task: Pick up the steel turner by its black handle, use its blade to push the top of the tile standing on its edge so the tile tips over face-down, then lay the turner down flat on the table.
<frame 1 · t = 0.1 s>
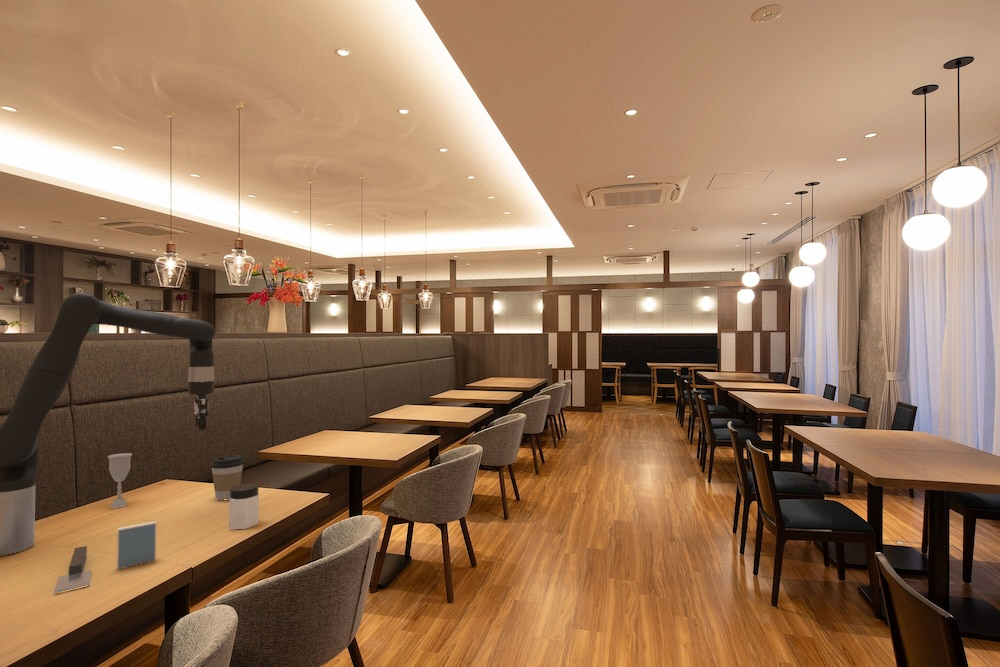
hand: (200, 427, 161), 29 cm above the table, tool pointing down, fingers open, 8 cm apart
jar: (243, 525, 151), on the table
coffee cup: (227, 498, 178), on the table
tile: (136, 564, 124), on the table
chalice: (119, 506, 170), on the table
turner: (76, 573, 119), on the table
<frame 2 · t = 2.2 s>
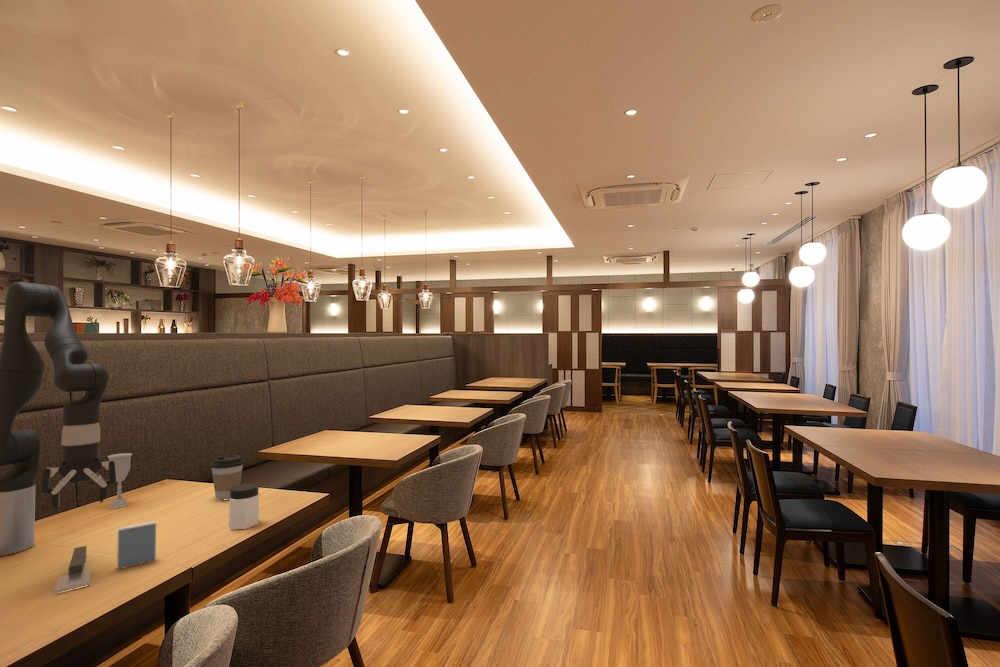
hand: (79, 504, 122), 16 cm above the table, tool pointing down, fingers open, 8 cm apart
nothing on the table moved.
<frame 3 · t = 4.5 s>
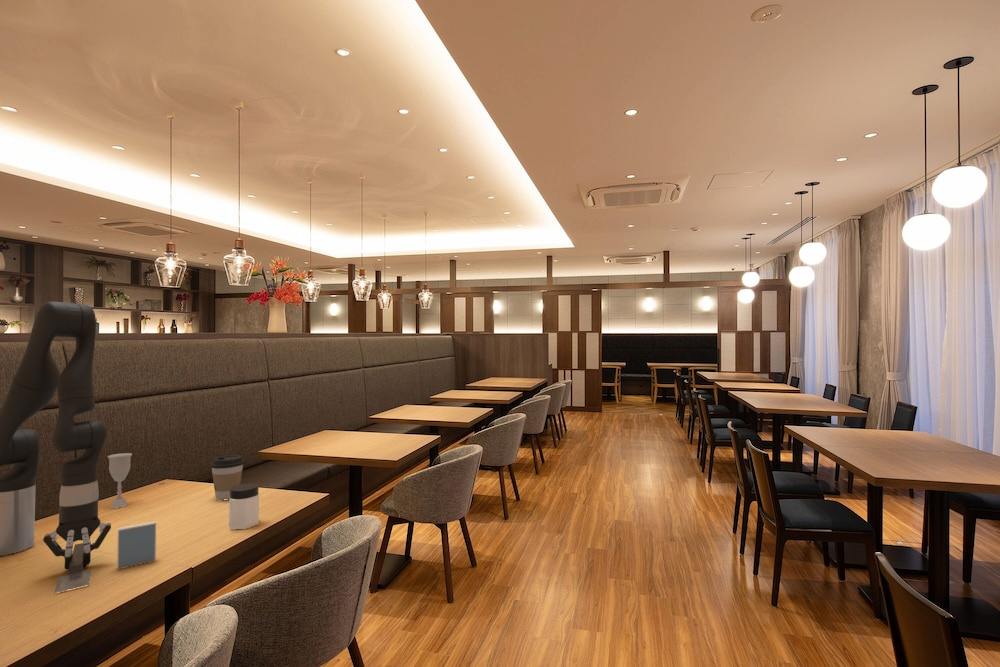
hand: (77, 568, 121), 0 cm above the table, tool pointing down, fingers closed on turner, 2 cm apart
turner: (76, 572, 119), on the table, touching gripper
everything else where it was.
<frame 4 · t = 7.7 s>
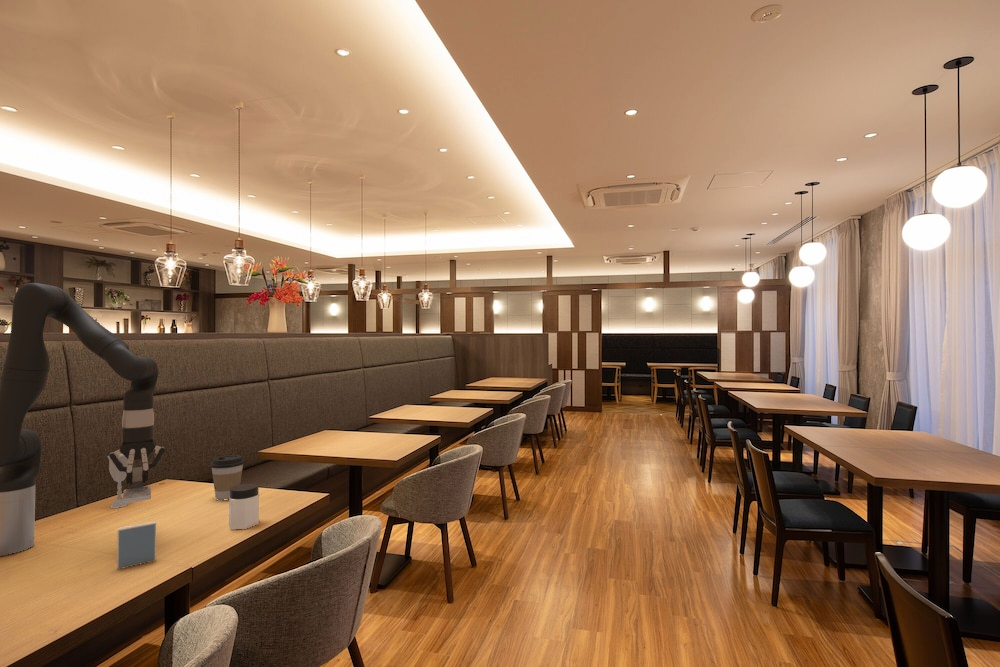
hand: (137, 483, 139), 17 cm above the table, tool pointing down, fingers closed on turner, 2 cm apart
turner: (137, 488, 137), point 16 cm above the table, tilted 5°, touching gripper
everything else where it was.
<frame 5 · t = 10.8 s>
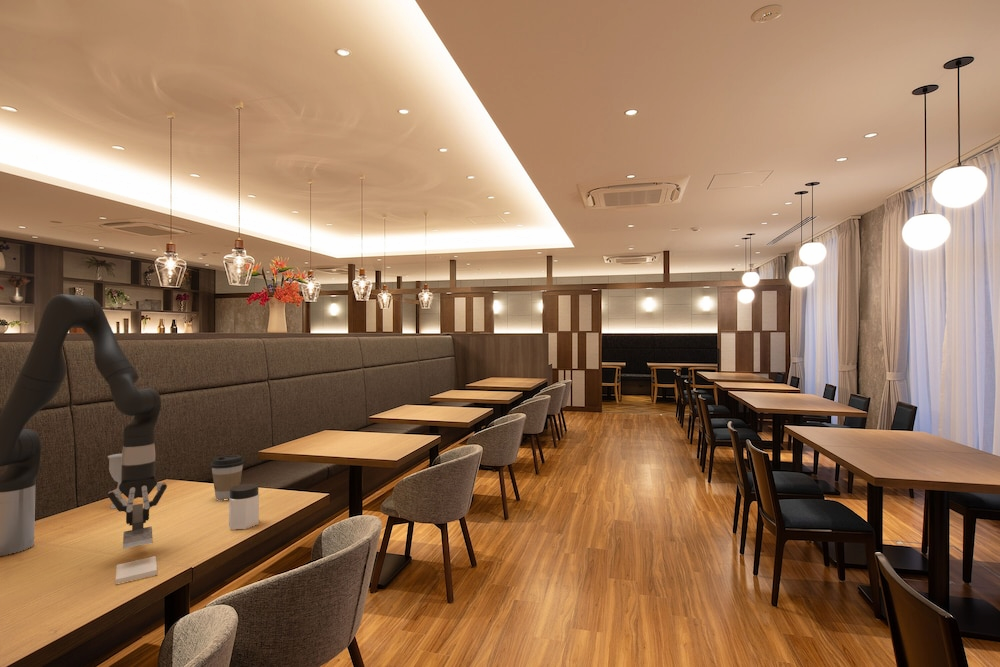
hand: (137, 523, 132), 8 cm above the table, tool pointing down, fingers closed on turner, 2 cm apart
tile: (136, 563, 123), on the table, tilted 90°
turner: (137, 529, 130), point 7 cm above the table, tilted 5°, touching gripper
everything else where it was.
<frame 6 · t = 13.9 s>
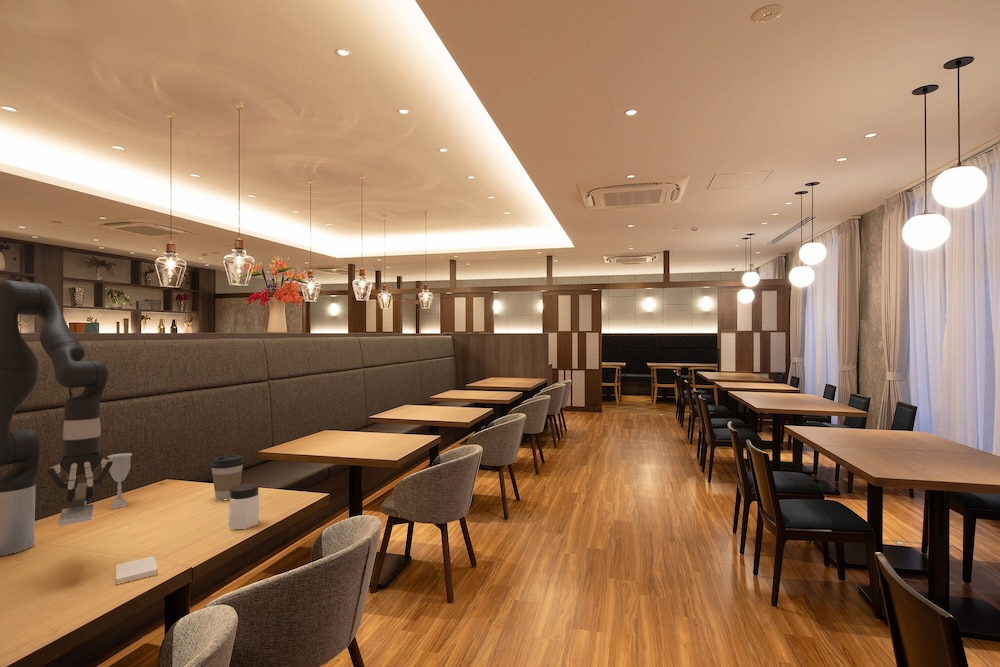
hand: (80, 501, 126), 16 cm above the table, tool pointing down, fingers closed on turner, 2 cm apart
turner: (79, 507, 124), point 15 cm above the table, tilted 5°, touching gripper
everything else where it was.
when the fingers open (1 cm above the table, at t = 16.6 s): turner stays where it is, on the table.
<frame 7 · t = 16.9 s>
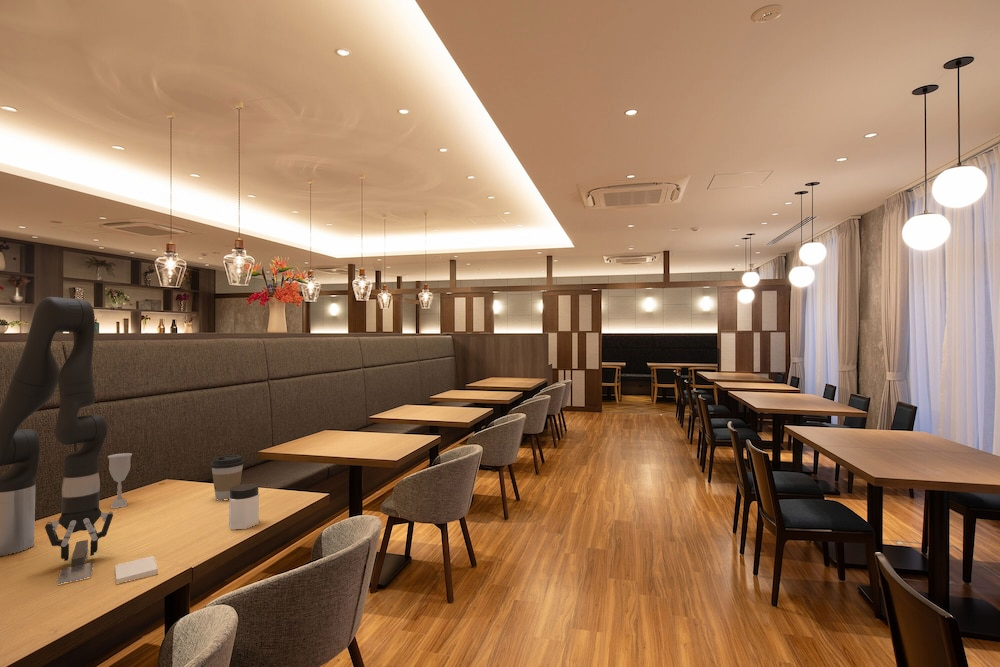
hand: (79, 556, 125), 1 cm above the table, tool pointing down, fingers open, 4 cm apart
turner: (78, 565, 123), on the table
everything else where it was.
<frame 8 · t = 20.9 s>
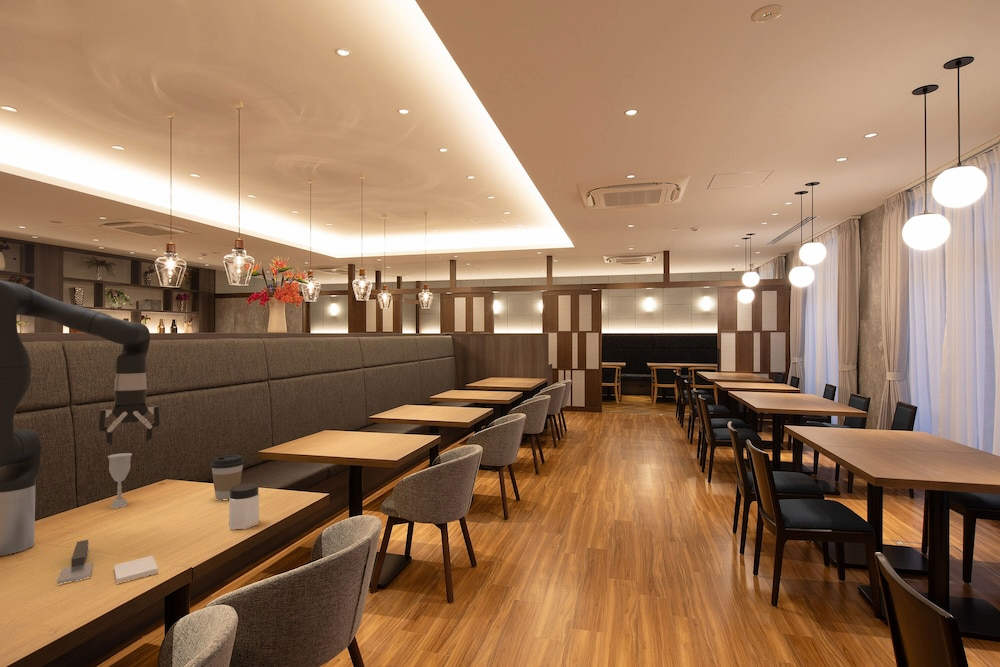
hand: (129, 442, 142), 28 cm above the table, tool pointing down, fingers open, 8 cm apart
nothing on the table moved.
at the end: tile tilted 90°; the gripper is holding nothing; turner tilted 0° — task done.
